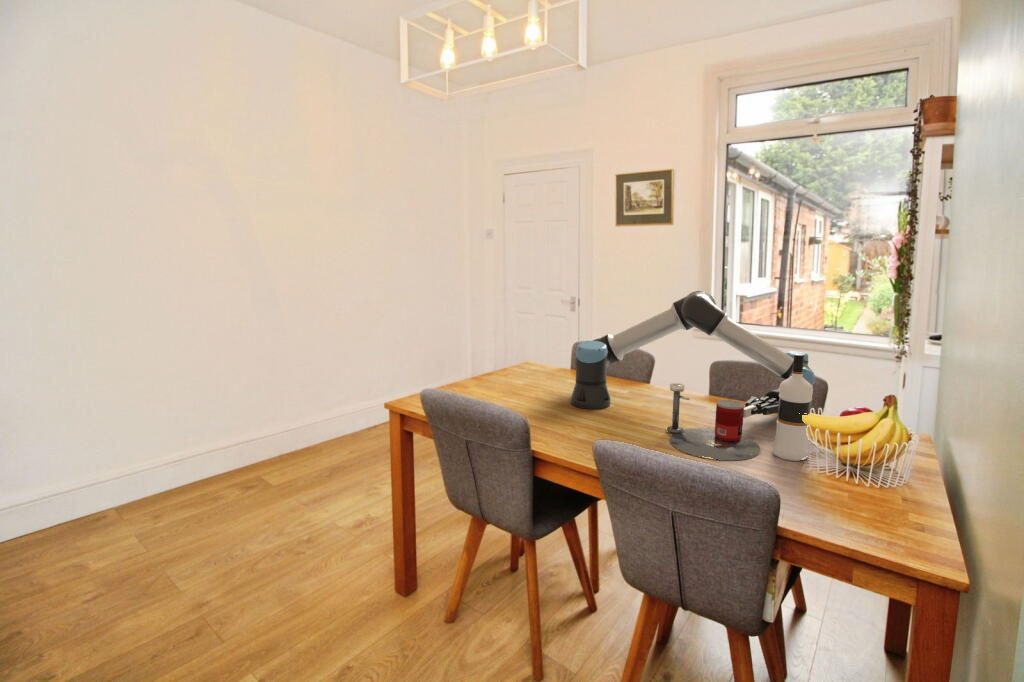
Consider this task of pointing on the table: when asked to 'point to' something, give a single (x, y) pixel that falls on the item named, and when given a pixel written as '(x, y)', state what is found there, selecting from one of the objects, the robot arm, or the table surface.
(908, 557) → the table surface
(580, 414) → the table surface
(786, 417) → the vodka
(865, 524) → the table surface
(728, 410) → the canned food
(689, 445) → the turntable
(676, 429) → the faucet
